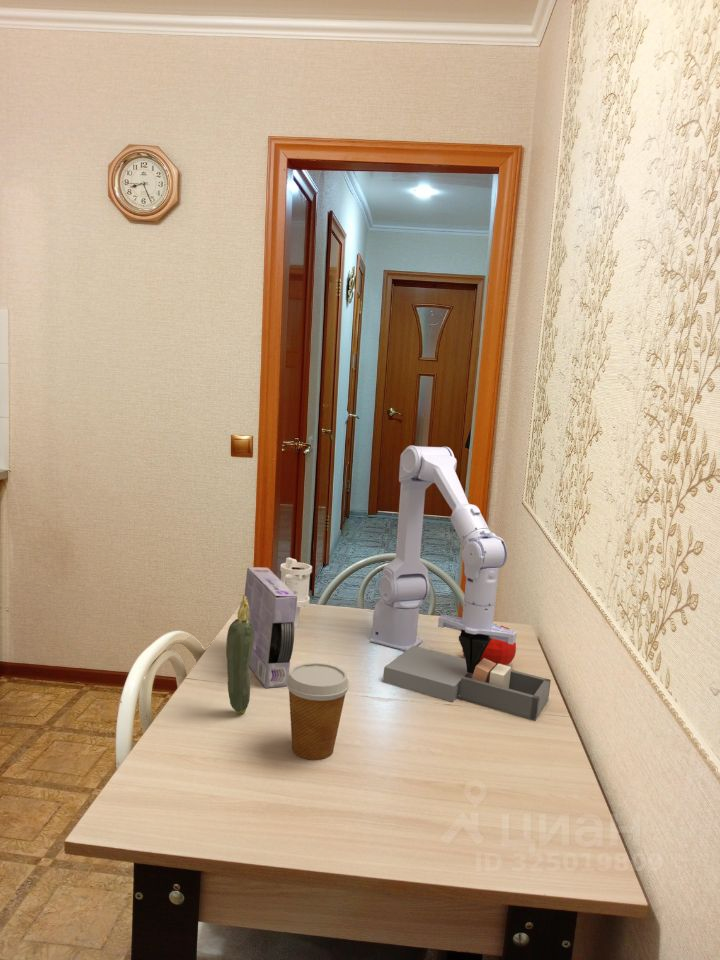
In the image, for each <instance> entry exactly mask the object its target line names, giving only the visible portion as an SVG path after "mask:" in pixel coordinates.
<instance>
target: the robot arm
mask: <svg viewBox="0 0 720 960" xmlns="http://www.w3.org/2000/svg"><path fill="white" fill-rule="evenodd" d="M399 459H400V460H399V470H398V471H399V473H398V475H399V476H398V482H399V483H400V492H399V493H400V495H399V507H398V516H397V517H398V518H397V519H398V520H397V531H396V532H397V533H396V534H397V535H396V549H395V557H394V559H393V560H391V561H389V563H387V564H386V565H384V567H383V570H382V572H383V573H382V574H381V575H382V576H381V579H380V581H379V585H378V588H379V594H380V599H379V600H378V601H377V602H376V604H375V606H374V609H373V615H372V625H371V626H372V627H371V628H372V629H371V637H370V638H369V642H371V643H374V644H379V645H383V646H387V647H390V648H394V649H397V650H402V651H403V652H405V651H406V650H408V649H409V648H411V647H412V646H413V645H414V646H417V647H418V645H420V644H422V643H423V641H424V640H423V638H419V637H417V635H418V626H419V624H418V623H419V617H420V615H419V614H420V606H422V605H423V603H424V601H426V600H427V598H429V597H428V596H429V594H430V590H431V589H430V588H431V586H430V580H429V569H428V568H427V567H426V565H424V564H423V563H422V562H421V551H422V549H421V548H422V536H423V525H424V513H425V512H424V510H425V509H424V508H425V499H426V497H425V496H426V490H427V489H428V488H429V487H430V486H431V485H432V484H435V485H436V487H437V488H438V490H439V492H440V493H441V495H442V496H443V498H444V500H445V502H446V503H447V504H448V506H449V508H450V509H451V511H452V513H451V515H450V522H451V524H452V526H453V528H454V529H455V532H456V534H457V536H458V538H459V540H460V542H461V544H462V546H463V549H461V557H462V561H463V564H464V570H463V573H464V576H465V578H466V579H465V586H464V587H465V589H464V595H463V596H464V597H463V604H462V616H461V617H459V616H453V615H446V614H442V615H440V616H439V617H438V621H437V622H438V625H437V627H438V628H442V629H443V628H447V629H451V630H457V631H459V632H460V634H459V635H458V642H459V644H460V645H461V648H462V649H463V651H462V653H463V652H464V654H463V656H464V655H465V657H464V659H466V666H467V672H469V673H472V674H473V673H474V670H475V667H476V665H477V664H478V663H479V662H480V659H481V657H482V655H483V653H484V651H485V649H486V647H487V646H488V644H489V642H490V641H491V639H497V640H501V641H505V642H507V643H508V644H512V645H513V644H514V643H516V639H517V633H518V632H517V631H515V630H511V629H510V628H509V629H506V628H503V627H500V626H501V625H498V624H496V623H494V618H495V608H496V601H497V600H496V599H497V589H498V581H499V579H498V578H499V571H500V568H503V566H505V564H506V563H507V560H508V548H507V547H508V546H507V545H506V542H505V540H504V539H503V538H502V537H500V536H498V535H496V534H495V532H491V529H490V528H489V526H488V524H487V522H486V520H485V518H484V517H483V514H482V513H481V510H480V508H479V507H478V505H476V504H471V503H469V501H468V499H467V496H466V493H465V491H464V489H463V486H462V484H461V481H460V480H459V477H458V475H457V472H456V470H457V463H458V461H457V458H456V457H455V455H454V452H453V450H452V449H451V447H448V446H441V447H440V446H419V445H418V446H417V445H408V446H406V448H404V450H403V451H402V453H401V454H400V458H399ZM495 624H496V625H495ZM462 649H461V650H462Z"/></svg>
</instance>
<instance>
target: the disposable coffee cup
mask: <svg viewBox="0 0 720 960" xmlns="http://www.w3.org/2000/svg"><path fill="white" fill-rule="evenodd" d="M286 684H287V686H286V687H287V689H288V695H289V700H288V701H289V714H290V716H289V717H290V733H291V749H292V752H293V753H294V754H295V755H296V756H298V757H299V758H302V759H306V760H313V761H314V760H315V761H316V760H323V759H327V758H329V757H331V756H332V755H333V753H334V750H335V745H336V740H337V735H338V730H339V726H340V721H341V716H342V711H343V709H344V708H343V707H344V703H345V697H346V694H347V692H348V690H349V688H350V685H351V683H350V681H349V680H348V675H347V672H346V671H345V670H344V669H343V668H341V667H339V666H336V665H332V664H329V663H324V662H307V663H301V664H298V665H296V666H294V667H293V668H291V669H290V670H289V676H288V677H287V679H286Z"/></svg>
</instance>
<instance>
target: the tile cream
mask: <svg viewBox="0 0 720 960" xmlns="http://www.w3.org/2000/svg"><path fill="white" fill-rule="evenodd" d="M511 670H512V666H509V665H507V666H506V665H502V664H497V665H496V667H495V668H494V669H493V670H492V671H491V672H490V680H489V683H490V684H493V685H497V686H501V687H505V688H508V689H509V683H510V674H511Z"/></svg>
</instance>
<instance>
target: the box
mask: <svg viewBox="0 0 720 960" xmlns="http://www.w3.org/2000/svg"><path fill="white" fill-rule="evenodd" d="M495 667H496V666H495ZM551 683H552V679H549V678H545V677H542V676H538V675H534V674H529V673H525V672H522V671H518V670H514V669H511V674H510V683H509V689H508V688H505V687H501V686H497V685H493V684H490V683H486V682H482V681H479V680H475V679H471V678H467V677H464V676H463V677H462V678H461V686H460V695H459V696H458V697H459V698H458V699H459V700H462V701H465V702H469V703H472V704H475V705H479V706H483V707H486V708H489V709H493V710H496V711H499V712H504V713H507V714H509V715H514V716H516V717H517V716H518V717H520V718H524V719H528V720H532V721H534V722H536V720H537V719H538V717H539V716H540V714H541V712H542V711H543V710H544V708H545V707H546V705H547V703H548V702H549V697H550V690H551Z"/></svg>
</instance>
